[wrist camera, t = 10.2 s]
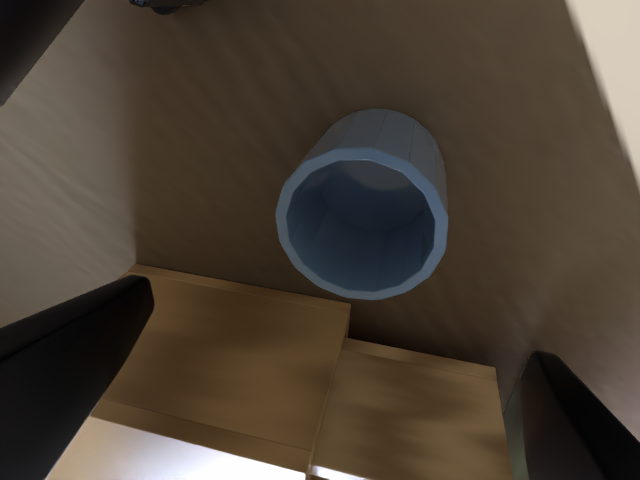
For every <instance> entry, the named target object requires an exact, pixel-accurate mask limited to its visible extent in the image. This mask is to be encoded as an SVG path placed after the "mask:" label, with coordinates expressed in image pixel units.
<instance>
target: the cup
mask: <svg viewBox="0 0 640 480" xmlns="http://www.w3.org/2000/svg"><path fill="white" fill-rule="evenodd" d="M275 217H276V224H277V230H278V236H279V242H280V244H281V246H282V248H283V249H284V251H285V253H286V254H287V256H288V258H289V259H290V261H291V263H292V264H293V266H294V267H295V268H296V269H297V270H298V271H299V272H300V273H302V274H303V275H304V276H305V277H306V278H308V279H309V280H310V281H311V282H312V283H314V284H315V285H316V286H318V287H320V288H322V289H325V290H327V291H330V292H332V293H335V294H337V295H339V296H342V297H344V298H351V299H364V300H380V299H384V298H388V297H392V296H396V295H400V294H404V293H406V292H408V291H410V290H411V289H412V288H414V287H415V286H417V285H418V284H420V283H421V282H422V281H424V280H425V279H427V278H428V277H430V275H431V274H432V273H433V271H434V269H435V268H436V266H437V264H438V263H439V261H440V259H441V258H442V256H443V254H444V253H445V251H446V247H447V235H448V222H449V217H448V202H447V187H446V172H445V165H444V162H443V158H442V155H441V151H440V149H439V147H438V145H437V142H436V141H435V139H434V138H433V136H432V135H431V134H430V133H429V132H428V130H427V129H426V128H425V127H424V126H422V125H421V124H420V123H419V122H418V121H416V120H414V119H413V118H411V117H409V116H407V115H405V114H403V113H400V112H397V111H394V110H388V109H377V108H373V109H364V110H360V111H356V112H354V113H351V114H348V115H346V116H345V117H343V118H341V119H339V120H338V121H337V122H335V123H334V124H332V125H331V127H330V128H329V129H328V130H327V131H326V132H325V133H324V135H323V136H322V137H321V138H320V139H319V140H318V141H317V142H316V144H315V145H314V146H313V148H312V149H311V150H310V151H309V153H308V154H307V155H306V156H305V158H304V159H303V160H302V162H301V163H300V164H299V165H298V167H297V168H296V169H295V170H294V172H293V173H292V174H291V176H290V177H289V178H288V179H287V181H286V182H285V183H284V185H283V187H282V190H281V194H280V197H279V201H278V204H277V208H276V211H275Z"/></svg>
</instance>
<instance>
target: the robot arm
mask: <svg viewBox="0 0 640 480" xmlns="http://www.w3.org/2000/svg"><path fill="white" fill-rule="evenodd" d="M207 1H208V0H129V2H130V3H131V4H133V5H136V6H139V7H151V8H152V9H153V11H154V12H156V13H157V14H160V15H169V14H171V13H174V12H175V11H176V10H178V9H179V8H180V7H182V6H184V5H202V4H204V3H205V2H207ZM83 2H84V0H0V107H1V106H2V105H4V103H5V102H6V101H7V100H8V98H9V97H10V96H11V94H12V93H13V92H14V91H15V89H16V88H17V87H18V85H19V84H20V83H21V82H22V80H23V79H24V78H25V76H26V75H27V74H28V73H29V71H30V70H31V69H32V67H33V66H34V65H35V63H36V62H37V61H38V60H39V58H40V57H41V56H42V54H43V53H44V52H45V51H46V49H47V48H48V47H49V45H50V44H51V43H52V42H53V40H54V39H55V38H56V36H57V35H58V34H59V33H60V31H61V30H62V29H63V27H64V26H65V25H66V24H67V22H68V21H69V20H70V18H71V17H72V16H73V15H74V13H75V12H76V11H77V9H78V8H79V7H80V6H81V4H82V3H83ZM154 306H155V301H154V297H153V292H152V287H151V283H150V280H149V279H148V278H147V277H145V276H140V275H133V274H132V275H129V276H126V277H124V278H121V279H119V280H116V281H114V282H112V283H109V284H107V285H104V286H102V287H99V288H97V289H94V290H92V291H90V292H87V293H85V294H82V295H80V296H77V297H75V298H73V299H70V300H68V301H65V302H63V303H60V304H58V305H56V306H53V307H51V308H48V309H46V310H43V311H41V312H39V313H36V314H34V315H31V316H29V317H26V318H24V319H22V320H19V321H17V322H14V323H12V324H9V325H7V326H4V327H2V328H0V480H45V479H46V478H47V476H48V475H49V474H50V472H51V471H52V469H53V468H54V466H55V465H56V463H57V462H58V460H59V459H60V457H61V456H62V455H63V453H64V452H65V450H66V449H67V447H68V446H69V444H70V443H71V441H72V440H73V438H74V437H75V436H76V434H77V433H78V431H79V430H80V428H81V427H82V425H83V424H84V422H85V421H86V419H87V418H88V417H89V415H90V414H91V412H92V411H93V409H94V408H95V406H96V405H97V403H98V402H99V400H100V399H101V398H102V396H103V395H104V393H105V392H106V390H107V389H108V387H109V386H110V384H111V383H112V381H113V380H114V379H115V377H116V376H117V374H118V373H119V371H120V370H121V368H122V367H123V365H124V363H125V362H126V360H127V358H128V357H129V355H130V353H131V351H132V349H133V348H134V346H135V344H136V342H137V340H138V338H139V337H140V335H141V333H142V331H143V329H144V327H145V326H146V324H147V322H148V320H149V318H150V316H151V314H152V313H153V310H154ZM520 395H521V409H522V424H523V438H524V451H525V459H526V465H527V471H528V476H529V480H640V442H639V441H638V440H637V439H636V438H635V437H634V436H633V435H632V434H631V433H630V432H629V431H628V430H627V429H626V427H625V426H624V425H623V424H622V423H621V422H620V421H619V420H618V419H617V418H616V417H615V416H614V415H613V414H612V413H611V412H610V411H609V410H608V409H607V407H606V406H605V405H604V404H603V403H602V402H601V401H600V400H599V399H598V398H597V397H596V396H595V395H594V394H593V393H592V392H591V391H590V390H589V389H588V387H587V386H586V385H585V384H584V383H583V382H582V381H581V380H580V379H579V378H578V377H577V376H576V375H575V374H574V373H573V372H572V371H571V370H570V369H569V367H568V366H567V365H566V364H565V363H564V362H563V361H562V360H561V359H560V358H559V357H558V356H557V355H555V354H553V353H549V352H544V351H538V350H536V351H533V352H532V354H531V355H530V358H529V360H528V362H527V364H526V367H525V369H524V371H523V373H522V376H521V380H520Z"/></svg>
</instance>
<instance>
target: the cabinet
mask: <svg viewBox="0 0 640 480" xmlns="http://www.w3.org/2000/svg"><path fill="white" fill-rule="evenodd" d="M132 274H133V275H140V276H145V277H147V278H148V279H149V280H150V283H151V287H152V292H153V297H154V301H155V306H154V310H153V313H152V314H151V316H150V318H149V320H148V322H147V324H146V326H145V327H144V329H143V331H142V333H141V335H140V337H139V338H138V340H137V342H136V344H135V346H134V348H133V349H132V351H131V353H130V355H129V357H128V358H127V360H126V362H125V363H124V365H123V367H122V368H121V370H120V371H119V373H118V374H117V376H116V377H115V379H114V380H113V381H112V383H111V384H110V386H109V387H108V389H107V390H106V392H105V393H104V395H103V396H102V398H101V399H100V400H99V402H98V403H97V405H96V406H95V408H94V409H93V411H92V412H91V414H90V415H89V417H88V418H87V419H86V421H85V422H84V424H83V425H82V427H81V428H80V430H79V431H78V433H77V434H76V436H75V437H74V438H73V440H72V441H71V443H70V444H69V446H68V447H67V449H66V450H65V452H64V453H63V455H62V456H61V457H60V459H59V460H58V462H57V463H56V465H55V466H54V468H53V469H52V471H51V472H50V474H49V475H48V476H47V478H46V479H45V480H310V474H311V462H312V459H313V455H314V451H315V447H316V443H317V440H318V436H319V432H320V428H321V424H322V420H323V417H324V413H325V409H326V405H327V401H328V397H329V394H330V390H331V386H332V382H333V378H334V374H335V371H336V367H337V363H338V359H339V355H340V351H341V348H342V344H343V340H344V337H345V338H348V329H349V319H350V310H351V304H350V303H345V302H340V301H334V300H329V299H323V298H318V297H313V296H307V295H302V294H296V293H291V292H286V291H280V290H275V289H269V288H264V287H259V286H253V285H248V284H242V283H237V282H232V281H226V280H221V279H216V278H210V277H205V276H199V275H194V274H189V273H183V272H178V271H172V270H167V269H162V268H156V267H151V266H145V265H140V264H135V265H134V266H132V267H131V268H130V269H129V270H128V271H127V272H125V273H124V274H123V275H122V276H121V277H120V278H119V279H121V278H124V277H126V276H129V275H132ZM119 279H118V280H119Z"/></svg>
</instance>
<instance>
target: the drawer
mask: <svg viewBox="0 0 640 480" xmlns="http://www.w3.org/2000/svg"><path fill="white" fill-rule="evenodd" d="M528 360H529V359H527V362H528ZM527 362H526V364H527ZM526 364H525V366H524V369H525V367H526ZM524 369H523V371H524ZM523 371H522V373H523ZM522 373H521V375H520V378H519V380H518V382H517V385H516V387H515V389H514V391H513V394H512V396H511V398H510V401H509V403H508V405H507V407H506V410H505V412H504V414H502V408H501V402H500V395H499V389H498V383H497V375H496V369H495V368H494V367H489V366H484V365H479V364H474V363H469V362H464V361H459V360H454V359H449V358H444V357H439V356H434V355H429V354H424V353H419V352H414V351H410V350H405V349H400V348H395V347H390V346H385V345H380V344H375V343H370V342H365V341H360V340H355V339H350V338H345V337H344V340H343V344H342V348H341V351H340V355H339V359H338V363H337V367H336V371H335V374H334V378H333V382H332V386H331V390H330V394H329V397H328V401H327V405H326V409H325V413H324V417H323V420H322V424H321V428H320V432H319V436H318V440H317V443H316V447H315V451H314V455H313V459H312V462H311V474H310V480H529V476H528V471H527V465H526V459H525V451H524V438H523V424H522V409H521V395H520V380H521V376H522Z"/></svg>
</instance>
